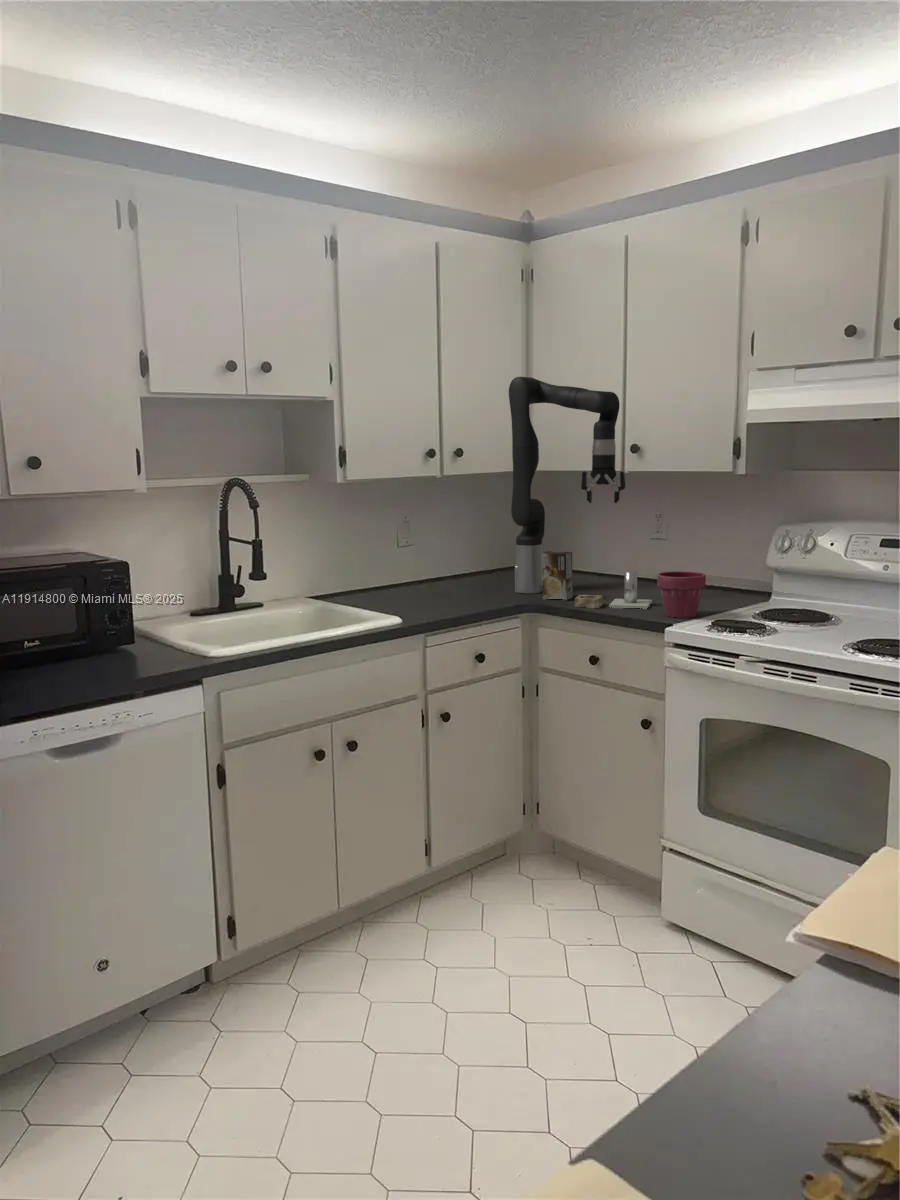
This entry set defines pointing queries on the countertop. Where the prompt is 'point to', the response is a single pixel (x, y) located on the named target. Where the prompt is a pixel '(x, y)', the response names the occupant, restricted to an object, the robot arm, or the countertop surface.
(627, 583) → the metal peg
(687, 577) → the plant pot
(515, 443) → the robot arm
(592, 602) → the wood collar
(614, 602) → the sage mat
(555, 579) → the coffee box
